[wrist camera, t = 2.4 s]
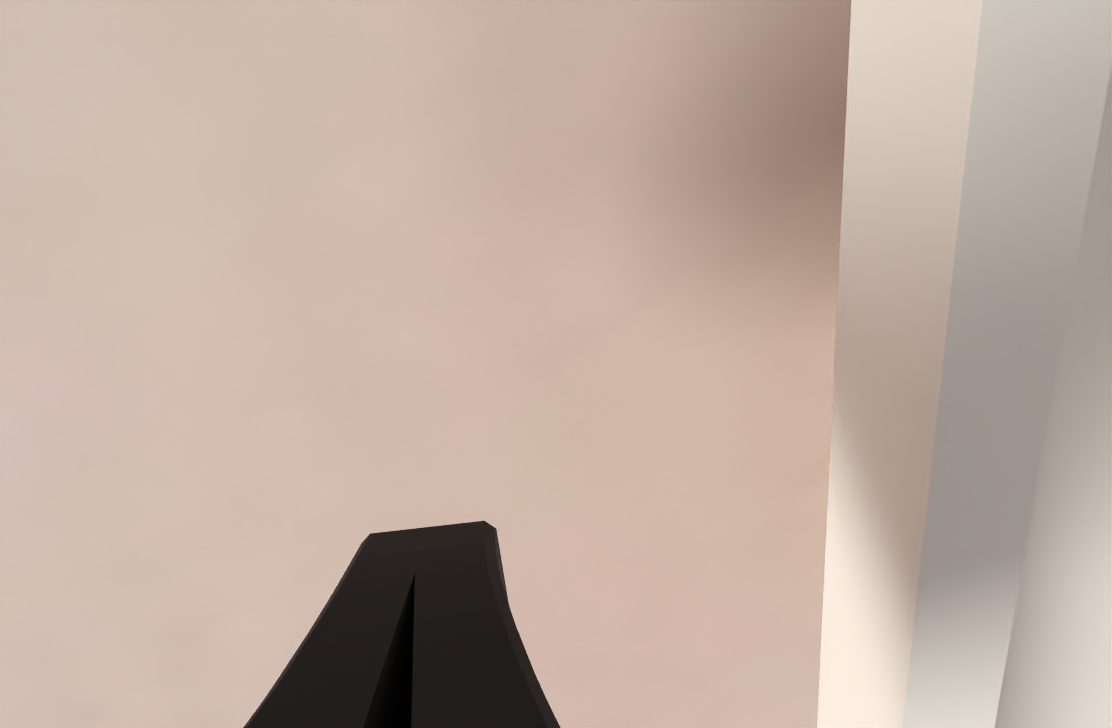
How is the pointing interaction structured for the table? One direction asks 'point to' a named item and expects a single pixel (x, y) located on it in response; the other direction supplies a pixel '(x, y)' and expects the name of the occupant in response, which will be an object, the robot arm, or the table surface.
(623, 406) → the table surface
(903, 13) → the lid
